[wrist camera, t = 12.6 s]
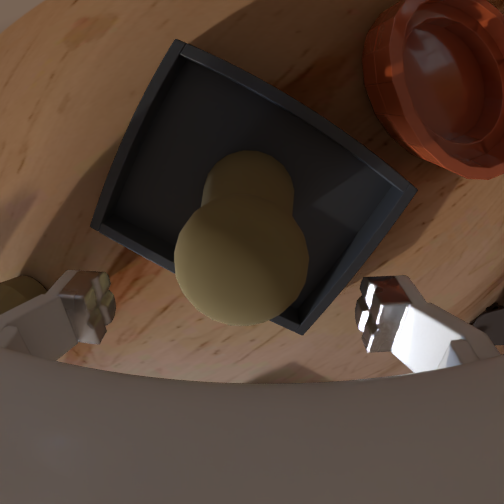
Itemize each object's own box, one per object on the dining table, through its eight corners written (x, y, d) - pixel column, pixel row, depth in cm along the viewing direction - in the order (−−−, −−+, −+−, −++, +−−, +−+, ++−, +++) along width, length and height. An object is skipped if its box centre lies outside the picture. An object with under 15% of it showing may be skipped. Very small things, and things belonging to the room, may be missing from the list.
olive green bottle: (311, 179, 20) (361, 255, 10) (265, 251, 22) (269, 368, 12) (230, 133, 19) (196, 163, 9) (188, 212, 21) (132, 307, 11)
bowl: (326, 90, 18) (347, 86, 13) (407, -26, 13) (438, -48, 8) (452, 194, 20) (488, 216, 16) (514, 83, 15) (554, 87, 11)
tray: (104, 214, 22) (89, 226, 19) (184, 45, 16) (175, 38, 14) (299, 315, 25) (302, 336, 23) (402, 180, 20) (418, 190, 18)
